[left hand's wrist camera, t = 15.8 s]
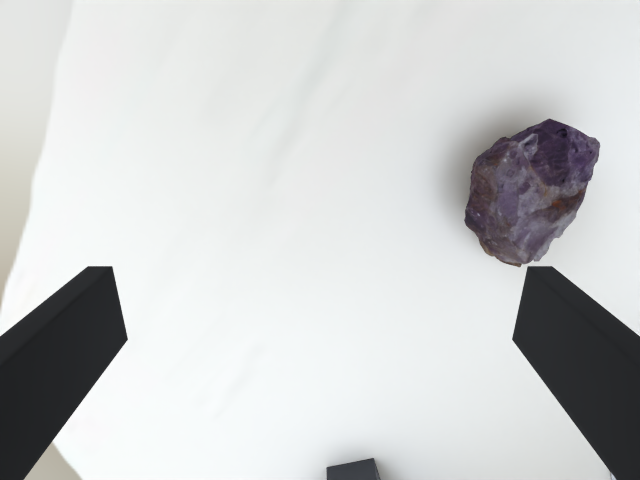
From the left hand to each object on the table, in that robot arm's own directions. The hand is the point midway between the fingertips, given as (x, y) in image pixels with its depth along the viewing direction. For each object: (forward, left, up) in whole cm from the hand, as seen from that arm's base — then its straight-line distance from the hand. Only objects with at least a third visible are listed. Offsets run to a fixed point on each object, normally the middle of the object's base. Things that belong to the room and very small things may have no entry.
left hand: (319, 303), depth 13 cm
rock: (+2, +16, -25) cm, 30 cm away
